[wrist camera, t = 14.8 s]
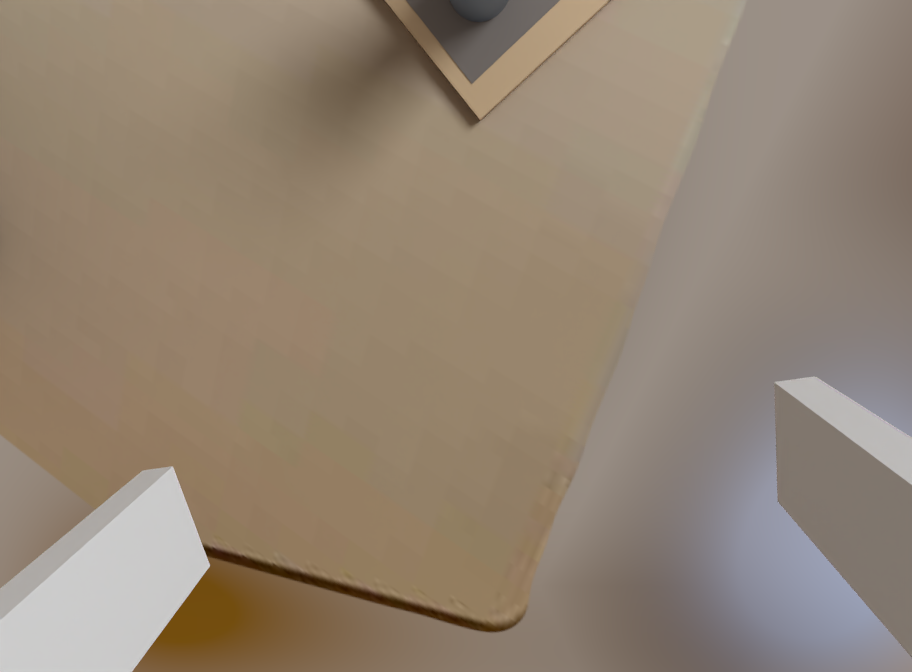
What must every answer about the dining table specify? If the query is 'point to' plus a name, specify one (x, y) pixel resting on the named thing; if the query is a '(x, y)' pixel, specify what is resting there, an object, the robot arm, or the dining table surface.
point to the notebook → (492, 42)
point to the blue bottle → (478, 9)
